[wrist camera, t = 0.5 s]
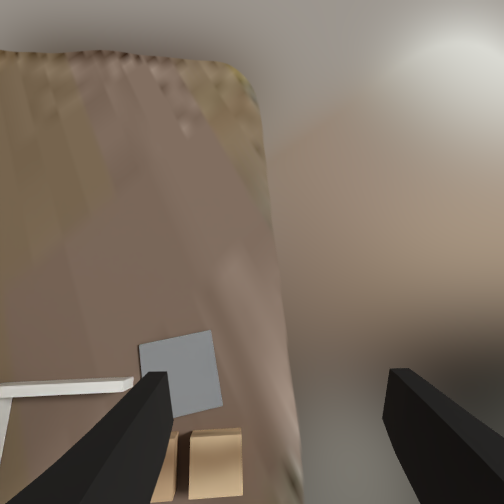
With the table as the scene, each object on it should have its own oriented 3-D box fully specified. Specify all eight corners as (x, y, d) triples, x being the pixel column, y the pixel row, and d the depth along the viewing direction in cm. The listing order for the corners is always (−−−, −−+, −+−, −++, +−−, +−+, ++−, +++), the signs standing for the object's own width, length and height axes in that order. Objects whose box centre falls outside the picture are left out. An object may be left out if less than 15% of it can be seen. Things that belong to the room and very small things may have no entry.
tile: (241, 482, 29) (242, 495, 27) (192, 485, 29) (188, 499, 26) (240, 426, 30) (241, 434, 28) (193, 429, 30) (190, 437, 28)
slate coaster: (222, 403, 31) (222, 405, 30) (148, 422, 30) (146, 424, 29) (211, 330, 33) (210, 330, 32) (141, 344, 32) (138, 344, 31)
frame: (118, 564, 26) (104, 592, 23) (-34, 579, 25) (-68, 610, 22) (133, 376, 31) (123, 380, 28) (5, 382, 30) (-19, 387, 27)
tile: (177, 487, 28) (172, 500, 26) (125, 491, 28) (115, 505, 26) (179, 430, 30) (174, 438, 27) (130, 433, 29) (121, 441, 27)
